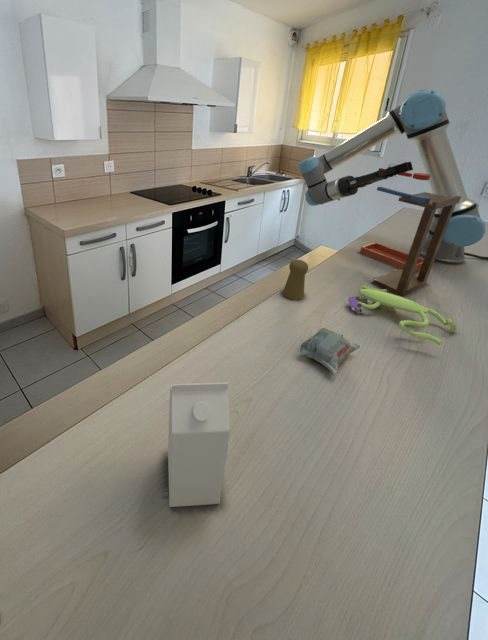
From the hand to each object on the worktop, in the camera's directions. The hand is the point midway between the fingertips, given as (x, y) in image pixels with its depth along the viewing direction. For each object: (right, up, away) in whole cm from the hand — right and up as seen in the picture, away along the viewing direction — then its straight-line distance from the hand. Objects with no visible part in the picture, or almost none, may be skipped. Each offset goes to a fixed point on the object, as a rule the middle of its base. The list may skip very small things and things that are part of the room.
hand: (409, 165), depth 103 cm
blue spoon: (-7, -11, -7) cm, 15 cm away
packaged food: (-39, -50, -30) cm, 70 cm away
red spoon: (-1, -3, +2) cm, 3 cm away
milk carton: (-70, -59, -55) cm, 107 cm away
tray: (+7, -31, +20) cm, 38 cm away
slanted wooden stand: (-1, -38, +3) cm, 38 cm away
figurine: (-14, -45, -15) cm, 50 cm away
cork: (-39, -40, -6) cm, 56 cm away
